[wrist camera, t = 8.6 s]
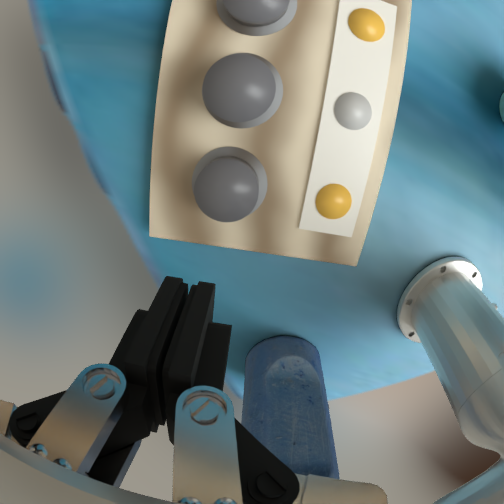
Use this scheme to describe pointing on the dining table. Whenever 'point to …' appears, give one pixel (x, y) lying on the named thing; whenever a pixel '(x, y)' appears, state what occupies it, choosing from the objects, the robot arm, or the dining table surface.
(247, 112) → the button middle
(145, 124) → the dining table surface
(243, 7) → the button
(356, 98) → the pattern card
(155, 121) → the button board
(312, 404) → the bottle
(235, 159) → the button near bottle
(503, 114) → the cupcake
